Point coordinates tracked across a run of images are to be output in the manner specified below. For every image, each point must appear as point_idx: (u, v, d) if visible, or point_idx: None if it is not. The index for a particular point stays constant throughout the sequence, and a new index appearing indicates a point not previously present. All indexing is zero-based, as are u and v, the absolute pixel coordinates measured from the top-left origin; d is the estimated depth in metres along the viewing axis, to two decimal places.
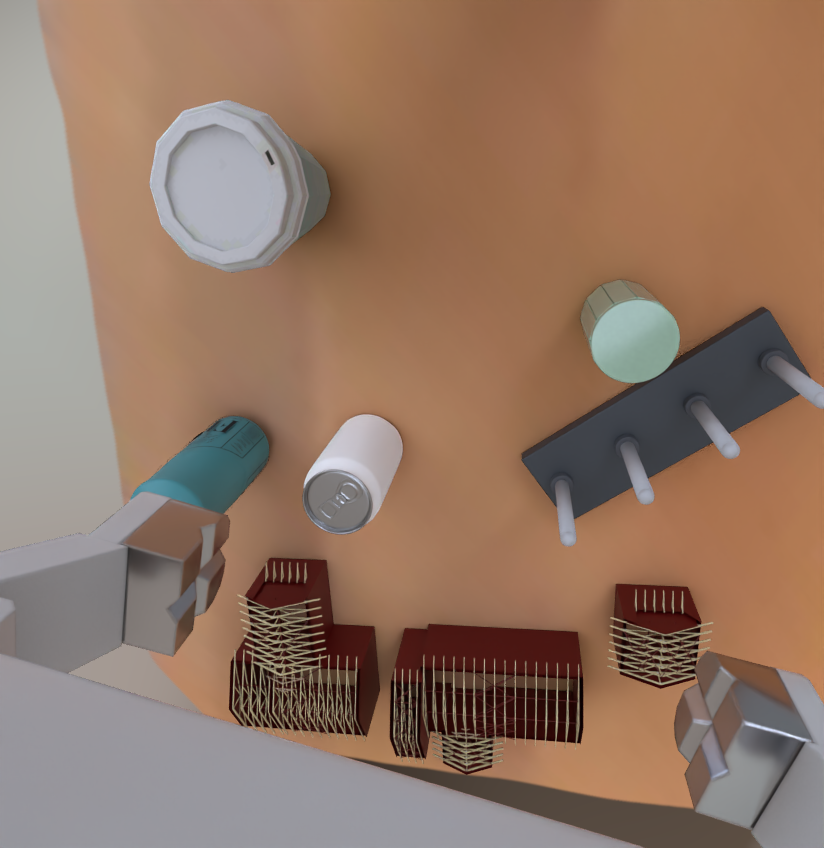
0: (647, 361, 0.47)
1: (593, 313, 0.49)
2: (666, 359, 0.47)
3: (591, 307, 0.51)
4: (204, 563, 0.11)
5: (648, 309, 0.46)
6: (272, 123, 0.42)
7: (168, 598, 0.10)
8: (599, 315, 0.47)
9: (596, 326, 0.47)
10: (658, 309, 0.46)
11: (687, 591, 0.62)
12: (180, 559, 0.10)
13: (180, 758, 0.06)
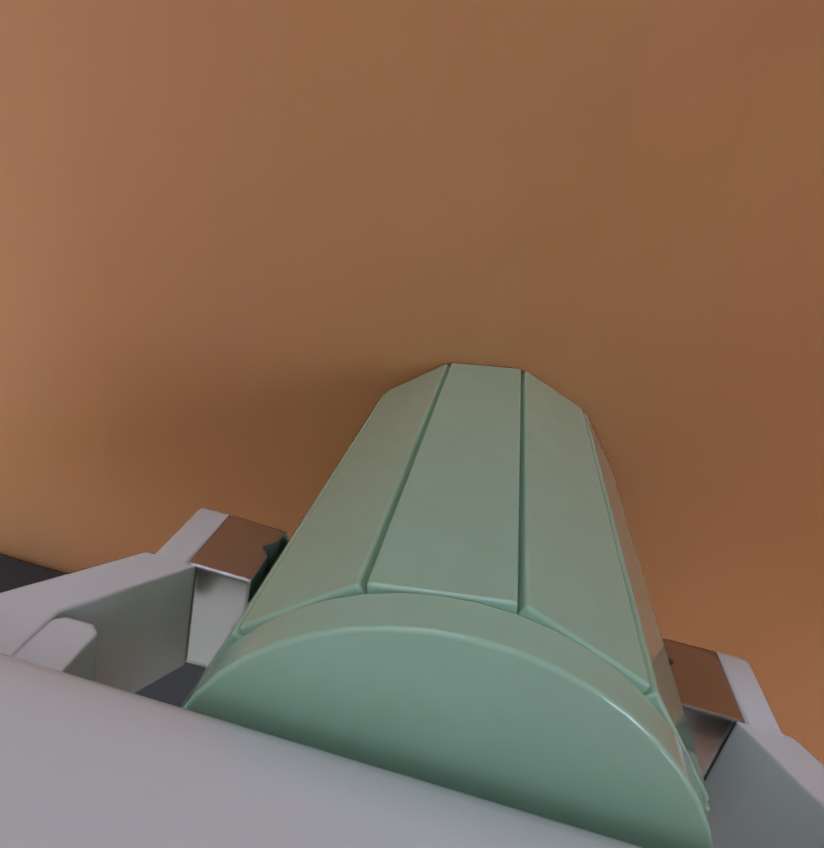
0: None
1: (401, 485, 0.09)
2: None
3: (426, 433, 0.10)
4: None
5: (644, 822, 0.06)
6: None
7: (234, 617, 0.10)
8: (397, 577, 0.07)
9: (317, 638, 0.06)
10: None
11: None
12: (248, 578, 0.09)
13: (180, 758, 0.06)
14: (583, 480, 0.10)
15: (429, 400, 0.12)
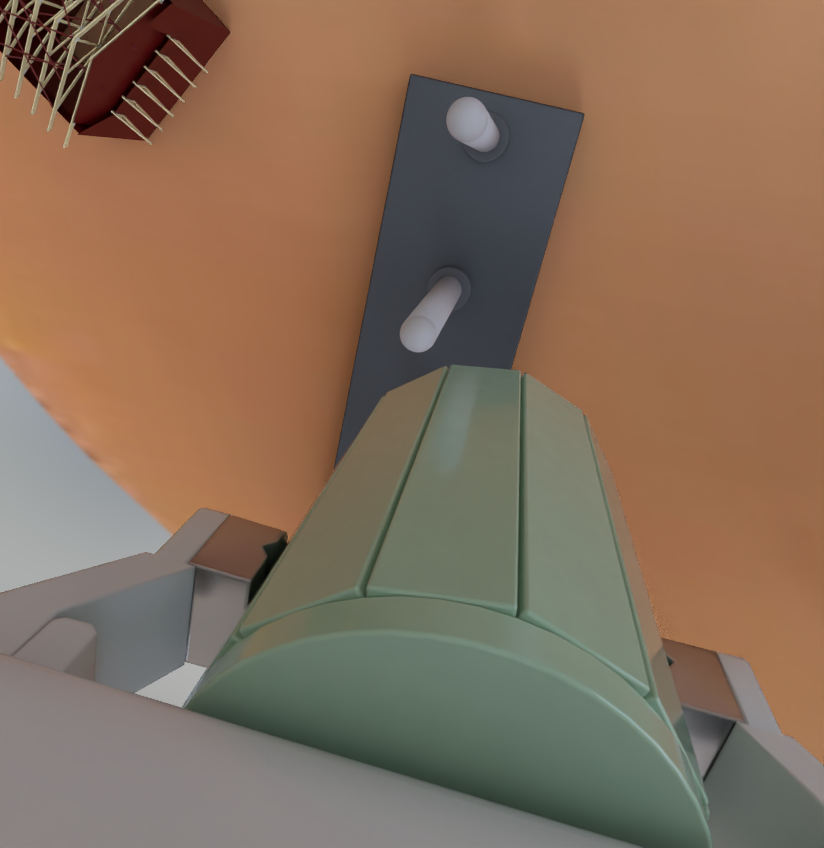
0: None
1: (401, 488, 0.09)
2: None
3: (426, 435, 0.10)
4: None
5: (643, 826, 0.06)
6: None
7: (234, 617, 0.10)
8: (396, 580, 0.07)
9: (317, 641, 0.06)
10: None
11: (140, 137, 0.31)
12: (248, 578, 0.09)
13: (180, 758, 0.06)
14: (583, 482, 0.10)
15: (429, 402, 0.12)
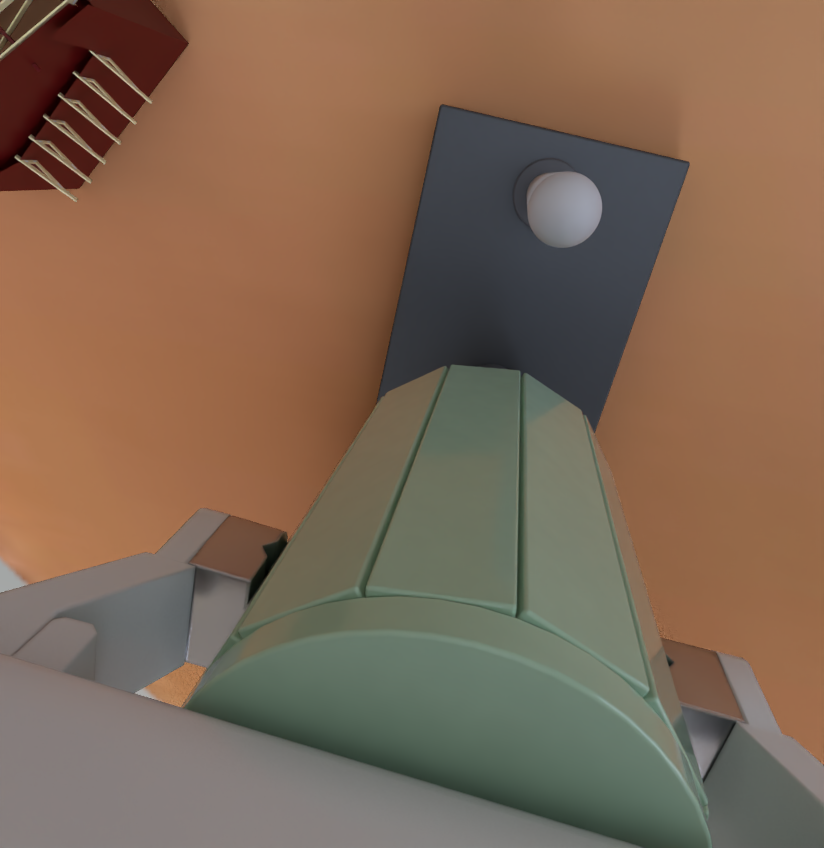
0: None
1: (400, 488, 0.09)
2: None
3: (425, 435, 0.10)
4: None
5: (643, 826, 0.06)
6: None
7: (234, 617, 0.10)
8: (396, 580, 0.07)
9: (316, 641, 0.06)
10: None
11: (68, 185, 0.23)
12: (248, 578, 0.09)
13: (181, 759, 0.06)
14: (582, 482, 0.10)
15: (428, 402, 0.12)
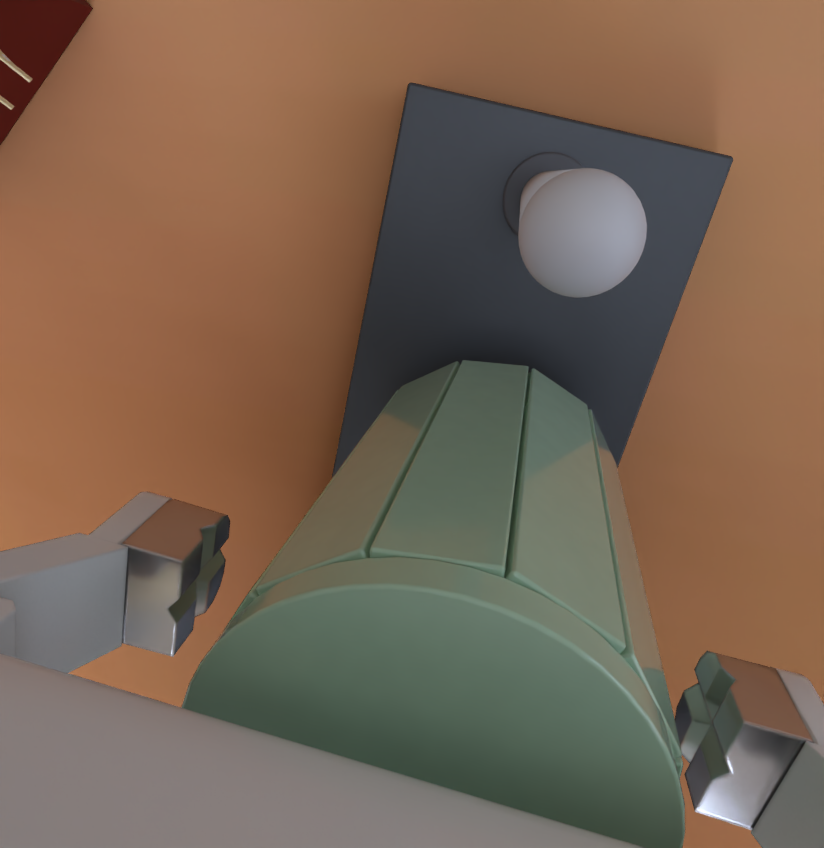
0: None
1: (407, 467, 0.10)
2: None
3: (433, 422, 0.11)
4: (204, 563, 0.11)
5: (617, 769, 0.07)
6: None
7: (168, 598, 0.10)
8: (397, 544, 0.08)
9: (324, 594, 0.07)
10: (655, 811, 0.07)
11: None
12: (181, 559, 0.10)
13: (180, 758, 0.06)
14: (581, 468, 0.11)
15: (438, 393, 0.13)
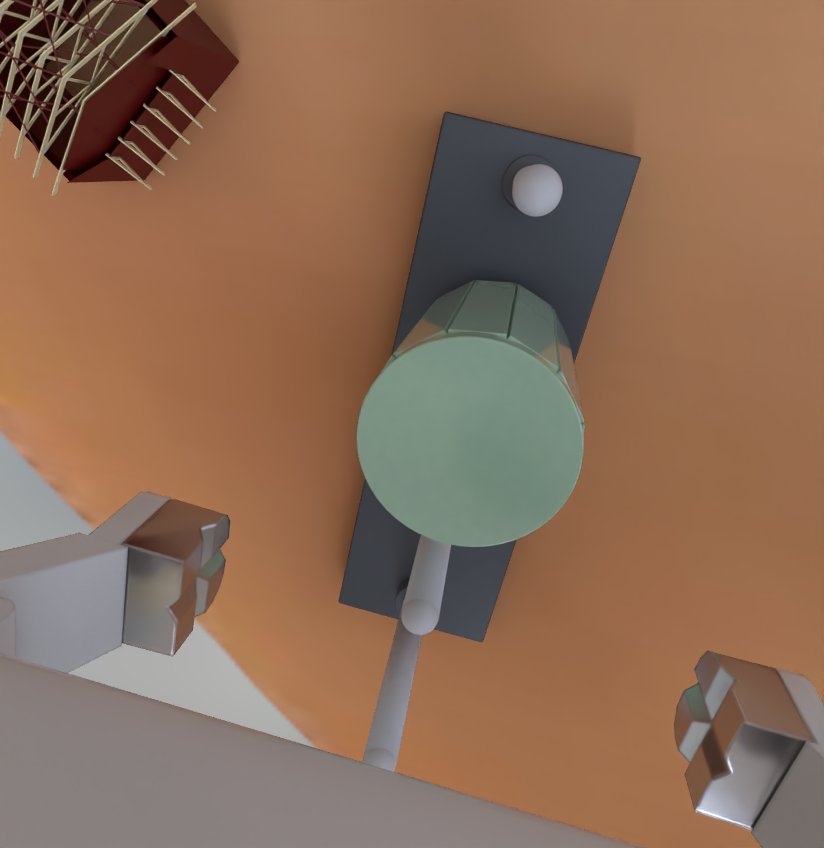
0: (450, 502, 0.18)
1: (456, 313, 0.19)
2: (485, 532, 0.18)
3: (465, 300, 0.21)
4: (204, 563, 0.11)
5: (554, 416, 0.17)
6: None
7: (168, 598, 0.10)
8: (459, 328, 0.17)
9: (431, 343, 0.17)
10: (570, 435, 0.17)
11: None
12: (180, 559, 0.10)
13: (181, 758, 0.06)
14: (544, 324, 0.21)
15: (465, 292, 0.23)
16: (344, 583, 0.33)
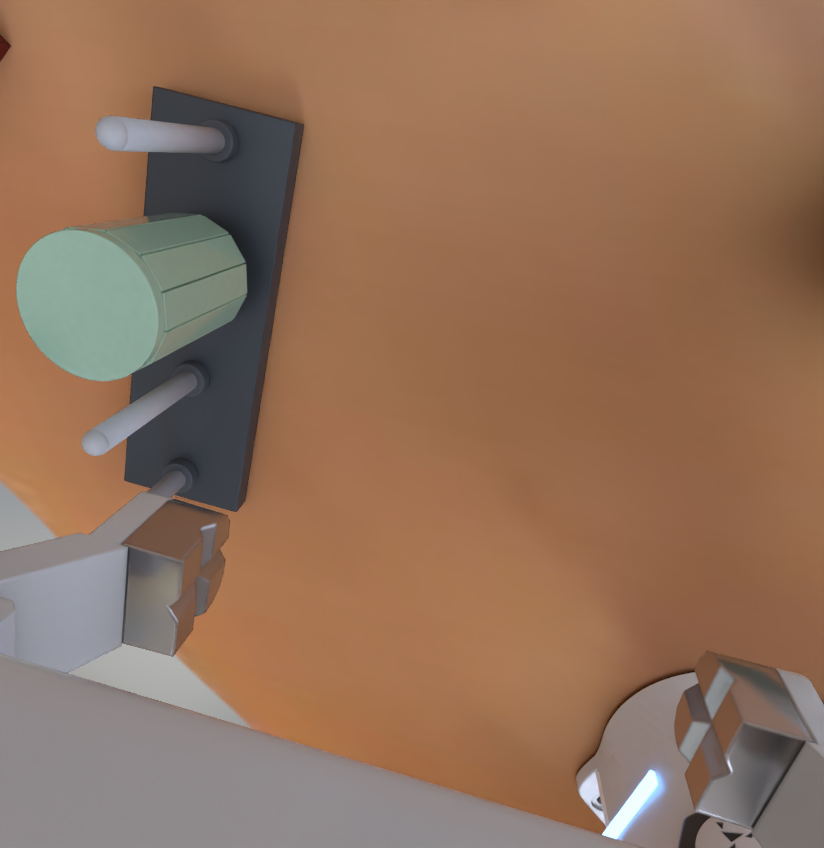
0: (84, 348, 0.27)
1: None
2: (109, 369, 0.27)
3: None
4: (204, 563, 0.11)
5: (134, 284, 0.25)
6: None
7: (168, 598, 0.10)
8: (77, 227, 0.26)
9: (51, 235, 0.25)
10: (146, 297, 0.26)
11: None
12: (180, 559, 0.10)
13: (180, 758, 0.06)
14: (183, 236, 0.29)
15: (144, 216, 0.31)
16: (126, 464, 0.42)
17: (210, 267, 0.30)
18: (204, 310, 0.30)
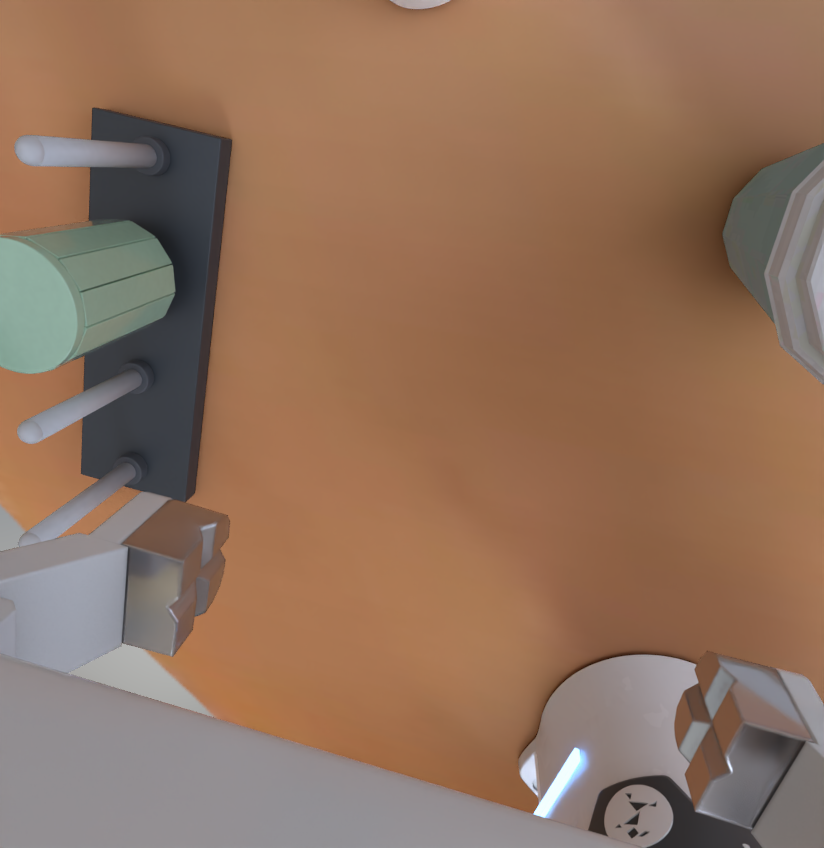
0: (13, 344, 0.30)
1: None
2: (36, 363, 0.30)
3: None
4: (204, 563, 0.11)
5: (53, 285, 0.28)
6: None
7: (168, 598, 0.10)
8: (2, 234, 0.29)
9: None
10: (65, 297, 0.28)
11: None
12: (180, 559, 0.10)
13: (180, 758, 0.06)
14: (106, 240, 0.32)
15: None
16: (82, 458, 0.45)
17: (133, 268, 0.33)
18: (127, 307, 0.33)
